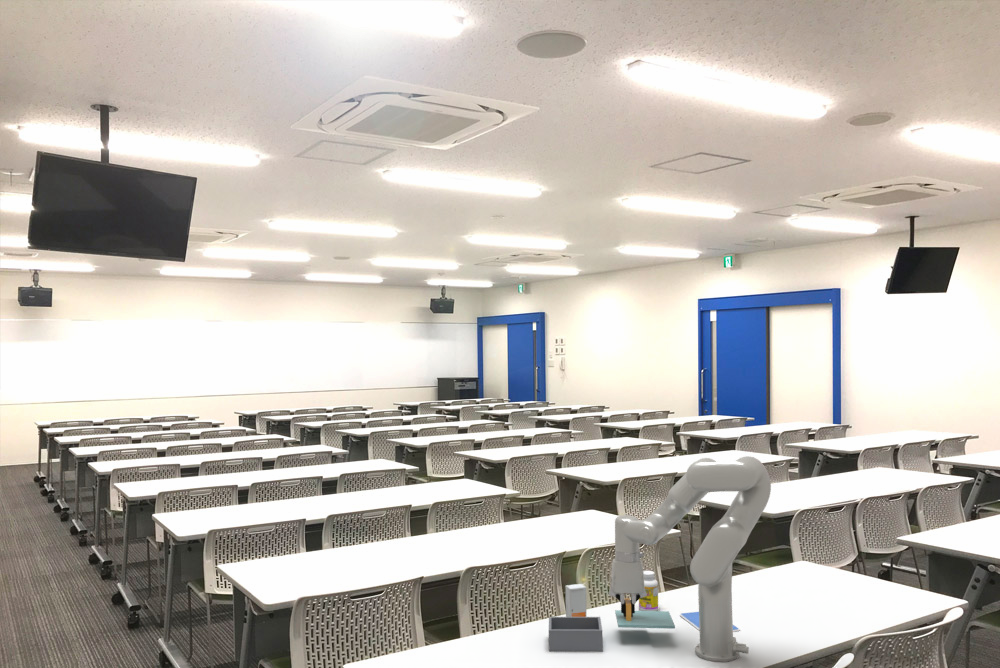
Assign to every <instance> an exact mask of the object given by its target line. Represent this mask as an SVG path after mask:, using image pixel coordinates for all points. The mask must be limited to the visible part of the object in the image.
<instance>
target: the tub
mask: <svg viewBox="0 0 1000 668" xmlns="http://www.w3.org/2000/svg"><path fill="white" fill-rule="evenodd" d="M603 638H604V637H603V627H602V621H601V616H586V617H566V616H549V617H548V652H556V653H557V652H558V653H559V652H560V653H561V652H563V653H564V652H565V653H566V652H569V653H570V652H571V653H572V652H573V653H577V652H579V653H581V652H587V653H588V652H590V653H591V652H592V653H595V652H596V653H598V652H599V653H603V652H604V646H603V645H604V642H603Z"/></svg>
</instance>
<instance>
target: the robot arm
mask: <svg viewBox="0 0 1000 668" xmlns="http://www.w3.org/2000/svg"><path fill="white" fill-rule="evenodd" d="M771 490H772V485H771V478H770V475H769V472H768V470H767V468H766V467H765V465H764V464H763V463H762V462H761V461H760V460H759V459H757V458H755V457H754V456H746V455H745V456H742V457H739V458H738V459H736V460H734V461H731V460H730V461H716V460H714V459H713V458H710V457H702V458H700V459H698V460H696V461H694V462H693V463H691V464H690V465H689V467H688V468H687V470H686V472H685V473H684V475H683V476H682V477H680V479H679V480H678V481H676V483H675V484H673V486H672V487H670V489H669V491H668V495H667V497H665V499H664V500H663V502H662V503H661V504H660V505H659V506H658V507H657V508H656V509H655V510H654V511H653V512H652V513H651V514H650V515H649V516H647V517H645V518H644V519H641V520H640V519H639V518H638V517H637V516H634V515H630V514H628V515H625V514H622V515H619V516H617V517H615V519H614V548H615V549H614V557H615V558H613V559H612V563H611V570H610V571H611V572H610V588H609V591H608V595H609V596H610V597H613V598H616V599H617V600H618V601H619V602H620V610H621V613H623V615H624V617H626V603H625V595H630V602H631V617H633V613H635V611H636V608H635V604H636V603H637V602H639V599H640V598H642V597H645V596H647V593H646V591H645V588H644V573H643V571H644V566H643V565H644V564H643V561H642V559H641V558H645V552H642V551H640V544H642V545H647V546H652V545H655V544H656V543H658V542H659V541H660V540H661V539H663V538H664V537H665V536H666V535H667V534H669V532H670V531H671V530H672V529H674V527H675V526H676V525H677V524H678V523H680V522H681V520H682V519H683V518H684V517H685V516H686V515H687V514H689V513H690V512H691V511H692V510H693V509H694V508H695V506H697V504H699V502H700V501H701V500H703V498H704V497H705V496H706V495H707V494H709V492H715V493H716V492H737V493H736V495H735V497H734V499H733V500H732V502H731V504H730V506H729V507H728V508H727V511H726V512H725V514H723V516H722V517H721V519H719V520H718V521H717V522H716V523H715V524H714V525H712V527H711V529H710V530H709V531H708V533H707V534H706V536H705V538H704V539H703V541H701V542H702V543H701V544H700V545H699V547H698V549H697V550H696V552H695V554H694V555H693V557H692V559H691V562H690V565H689V570H690V575H691V577H692V579H693V581H694V582H696V583H697V584H698V587H697V589H698V590H697V591H698V593H697V595H698V596H697V597H698V612H699V629H700V631H699V643H698V644H696V646H695V647H694V653H695V655H697V657H699V658H701V659H704V660H707V661H713V662H731V661H734V660H736V659H738V658H739V656H740V653H742V654H747V655H749V651H750V650H749V649H750V648H749V646H747V644H746V643H739V642H737V638H736V637H734V632H733V625H734V623H733V596H732V595H733V594H732V593H733V592H732V583H733V582H732V581H733V562H734V561H735V559H736V557H737V556H738V554H739V552H740V551H741V550H742V548H743V547H744V546H745V545H746V543H747V541H748V539H749V538H750V537H749V536H750V535H751V533H752V531H753V529H754V528H755V526H756V525H757V523H758V521H759V519H760V517H761V515H762V514H763V512H764V510H765V509H766V507H767V504H768V503H769V499H770V497H771Z"/></svg>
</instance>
